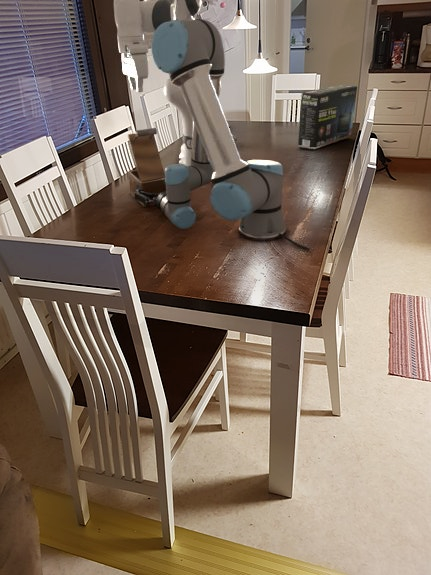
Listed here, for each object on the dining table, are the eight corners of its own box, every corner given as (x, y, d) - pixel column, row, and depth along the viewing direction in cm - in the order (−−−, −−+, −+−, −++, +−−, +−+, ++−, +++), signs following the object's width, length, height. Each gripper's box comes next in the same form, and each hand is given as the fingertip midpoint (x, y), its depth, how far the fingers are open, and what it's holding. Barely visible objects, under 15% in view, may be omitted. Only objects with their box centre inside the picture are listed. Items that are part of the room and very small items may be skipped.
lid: (127, 135, 168) (132, 126, 160) (152, 131, 171) (157, 122, 163) (140, 182, 168) (145, 175, 160) (164, 177, 172) (170, 171, 164)
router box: (314, 151, 231) (318, 94, 217) (296, 148, 237) (299, 92, 224) (352, 138, 251) (358, 85, 238) (335, 135, 258) (340, 83, 245)
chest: (130, 193, 186) (127, 171, 181) (153, 189, 190) (150, 167, 185) (144, 207, 173) (141, 183, 168) (167, 202, 176) (165, 178, 172)
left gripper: (115, 45, 161) (120, 88, 168) (130, 48, 145) (136, 95, 152) (132, 44, 163) (137, 86, 170) (149, 47, 147) (154, 93, 154)
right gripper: (140, 220, 156) (123, 200, 173) (200, 208, 163) (178, 190, 181) (137, 199, 152) (120, 181, 169) (199, 188, 159) (177, 171, 177)
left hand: (136, 90), depth 161 cm, fingers open, 6 cm apart
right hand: (150, 186), depth 175 cm, fingers closed on chest, 10 cm apart
